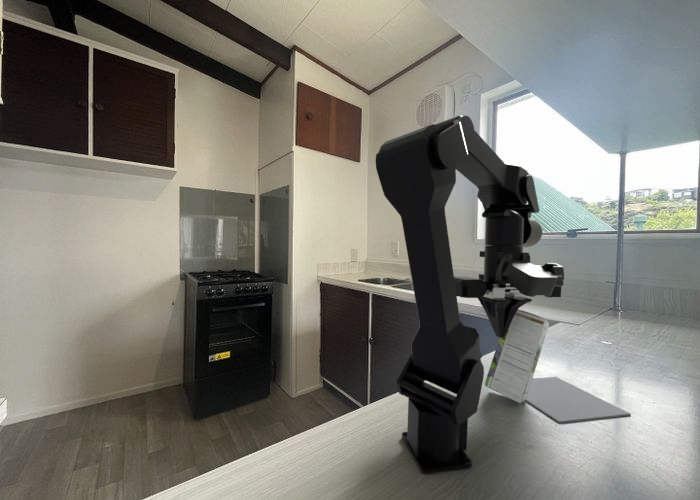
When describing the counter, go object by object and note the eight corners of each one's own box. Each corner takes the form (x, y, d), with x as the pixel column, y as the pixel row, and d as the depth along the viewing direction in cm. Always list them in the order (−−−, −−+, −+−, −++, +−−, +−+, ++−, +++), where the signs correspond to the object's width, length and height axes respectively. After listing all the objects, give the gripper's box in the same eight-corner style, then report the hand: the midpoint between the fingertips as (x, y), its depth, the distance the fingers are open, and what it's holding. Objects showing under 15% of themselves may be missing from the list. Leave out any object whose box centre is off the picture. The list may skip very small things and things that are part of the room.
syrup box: (490, 384, 52) (513, 310, 53) (526, 402, 48) (550, 322, 49) (483, 385, 47) (508, 305, 49) (522, 405, 43) (548, 317, 45)
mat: (559, 423, 42) (559, 421, 42) (497, 382, 55) (497, 380, 55) (630, 415, 45) (630, 413, 45) (555, 378, 57) (555, 376, 57)
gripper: (488, 243, 37) (484, 358, 37) (597, 248, 41) (593, 352, 41) (444, 244, 48) (441, 333, 48) (533, 247, 52) (530, 330, 52)
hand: (500, 337), depth 47 cm, fingers closed
